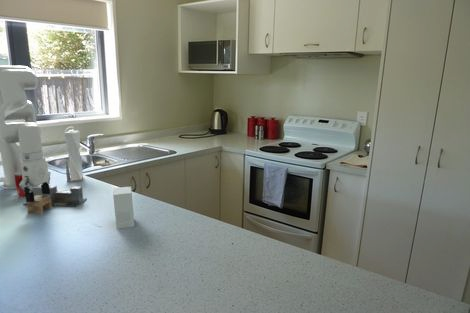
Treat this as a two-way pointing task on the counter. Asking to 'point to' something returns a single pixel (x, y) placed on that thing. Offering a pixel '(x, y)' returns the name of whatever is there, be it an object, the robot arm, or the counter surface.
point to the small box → (123, 207)
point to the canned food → (18, 179)
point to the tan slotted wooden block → (39, 204)
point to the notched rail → (62, 196)
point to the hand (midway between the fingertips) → (38, 197)
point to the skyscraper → (73, 156)
